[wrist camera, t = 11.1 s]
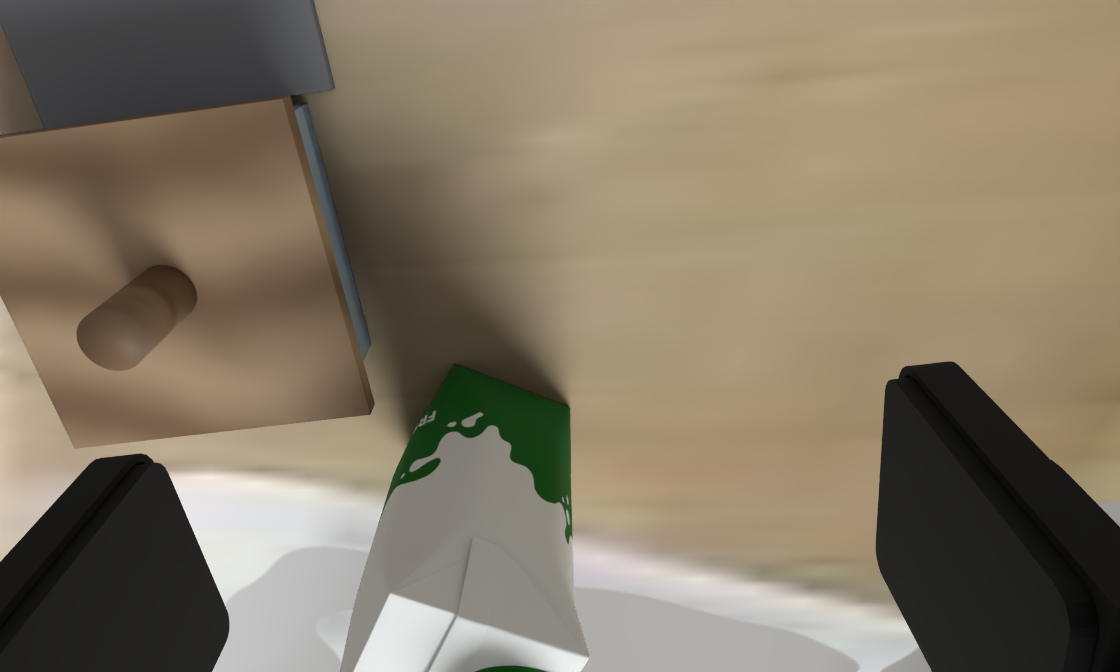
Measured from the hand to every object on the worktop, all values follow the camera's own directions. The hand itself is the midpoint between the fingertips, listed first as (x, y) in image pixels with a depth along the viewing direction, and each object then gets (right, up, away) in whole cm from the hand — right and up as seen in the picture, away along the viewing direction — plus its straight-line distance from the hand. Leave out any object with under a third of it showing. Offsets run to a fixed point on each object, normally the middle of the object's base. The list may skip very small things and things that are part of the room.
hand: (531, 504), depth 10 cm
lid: (-17, +5, +26) cm, 31 cm away
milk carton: (-4, -3, +36) cm, 36 cm away
